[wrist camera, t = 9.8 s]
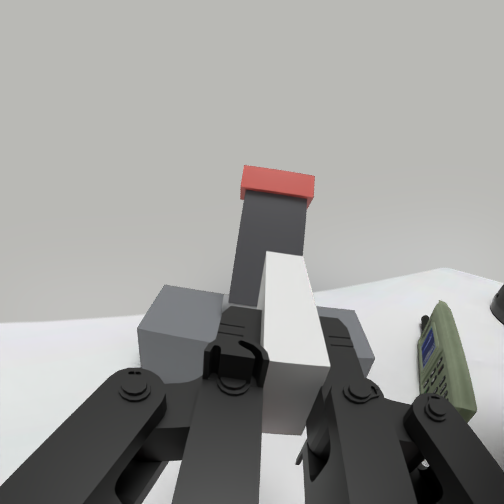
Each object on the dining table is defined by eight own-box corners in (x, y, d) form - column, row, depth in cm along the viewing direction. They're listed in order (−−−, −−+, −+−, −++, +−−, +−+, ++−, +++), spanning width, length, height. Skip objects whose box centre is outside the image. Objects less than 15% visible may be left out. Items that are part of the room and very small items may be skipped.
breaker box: (338, 351, 33) (353, 308, 31) (352, 404, 25) (375, 358, 23) (166, 328, 33) (165, 282, 31) (142, 378, 25) (137, 328, 23)
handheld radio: (413, 452, 20) (412, 322, 41) (441, 458, 19) (430, 328, 40) (453, 405, 17) (428, 284, 39) (483, 412, 16) (447, 290, 38)
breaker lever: (295, 324, 28) (308, 189, 32) (301, 323, 26) (314, 175, 29) (222, 314, 28) (243, 179, 32) (220, 312, 26) (244, 165, 29)
